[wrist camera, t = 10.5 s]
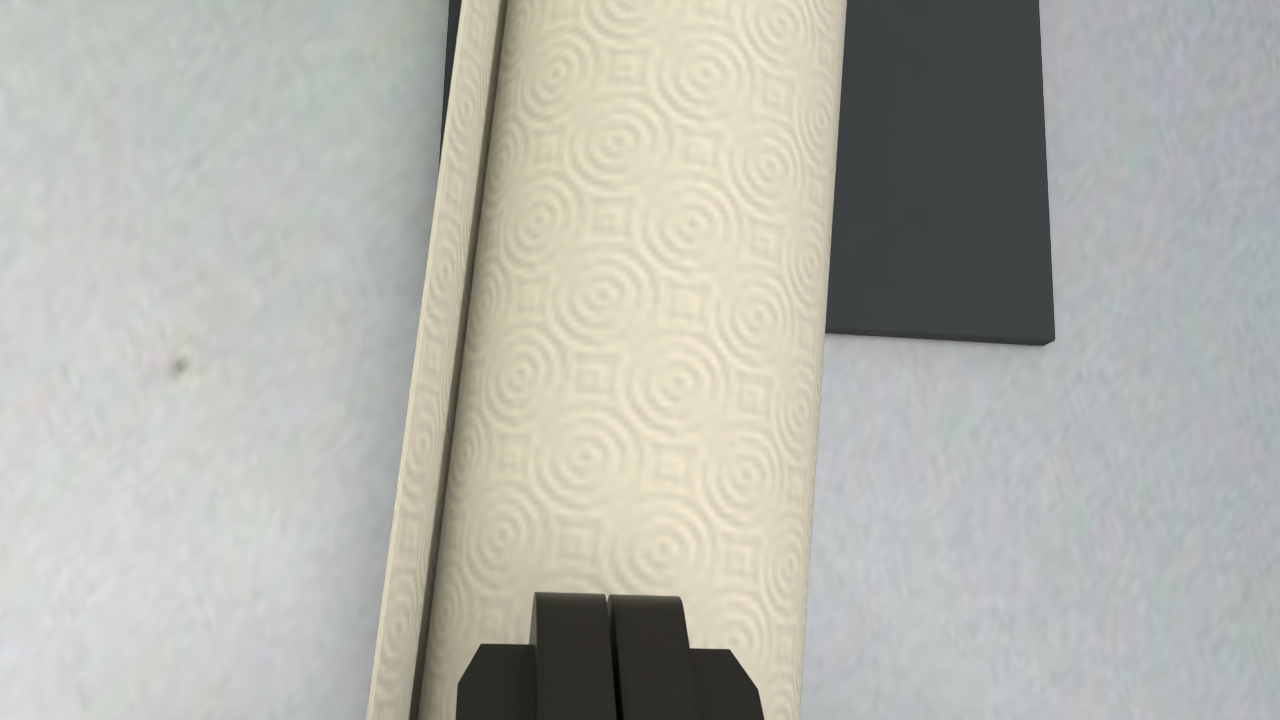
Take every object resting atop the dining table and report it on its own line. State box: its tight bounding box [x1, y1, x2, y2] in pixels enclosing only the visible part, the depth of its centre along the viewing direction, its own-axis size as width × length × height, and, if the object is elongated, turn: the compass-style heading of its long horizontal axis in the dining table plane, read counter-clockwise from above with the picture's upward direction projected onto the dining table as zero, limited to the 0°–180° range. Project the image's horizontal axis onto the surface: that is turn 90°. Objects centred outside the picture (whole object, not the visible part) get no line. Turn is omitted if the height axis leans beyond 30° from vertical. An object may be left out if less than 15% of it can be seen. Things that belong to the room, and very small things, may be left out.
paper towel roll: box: [366, 0, 847, 720], centre depth 20 cm, size 7×6×21 cm
